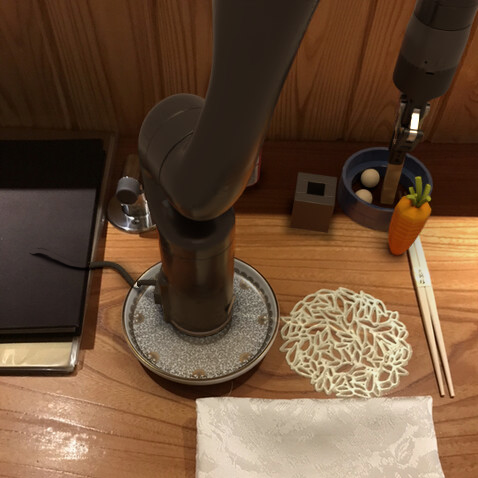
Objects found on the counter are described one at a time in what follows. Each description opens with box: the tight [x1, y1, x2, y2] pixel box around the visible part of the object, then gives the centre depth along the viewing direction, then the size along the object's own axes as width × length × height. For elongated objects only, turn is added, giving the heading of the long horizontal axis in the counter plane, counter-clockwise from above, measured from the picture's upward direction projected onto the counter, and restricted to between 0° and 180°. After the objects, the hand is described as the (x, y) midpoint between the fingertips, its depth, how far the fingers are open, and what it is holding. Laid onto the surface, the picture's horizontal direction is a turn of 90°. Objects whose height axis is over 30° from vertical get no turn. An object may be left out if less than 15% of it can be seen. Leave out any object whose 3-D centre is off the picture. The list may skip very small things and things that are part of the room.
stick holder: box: [289, 171, 338, 234], centre depth 88 cm, size 6×6×7 cm
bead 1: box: [360, 169, 380, 189], centre depth 93 cm, size 3×3×3 cm
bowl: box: [336, 146, 434, 233], centre depth 91 cm, size 14×14×6 cm
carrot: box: [387, 177, 432, 256], centre depth 81 cm, size 5×5×15 cm
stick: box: [380, 132, 404, 205], centre depth 87 cm, size 2×2×14 cm
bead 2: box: [354, 188, 373, 204], centre depth 90 cm, size 3×3×3 cm
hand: (394, 157), depth 85 cm, fingers closed on stick, 2 cm apart
